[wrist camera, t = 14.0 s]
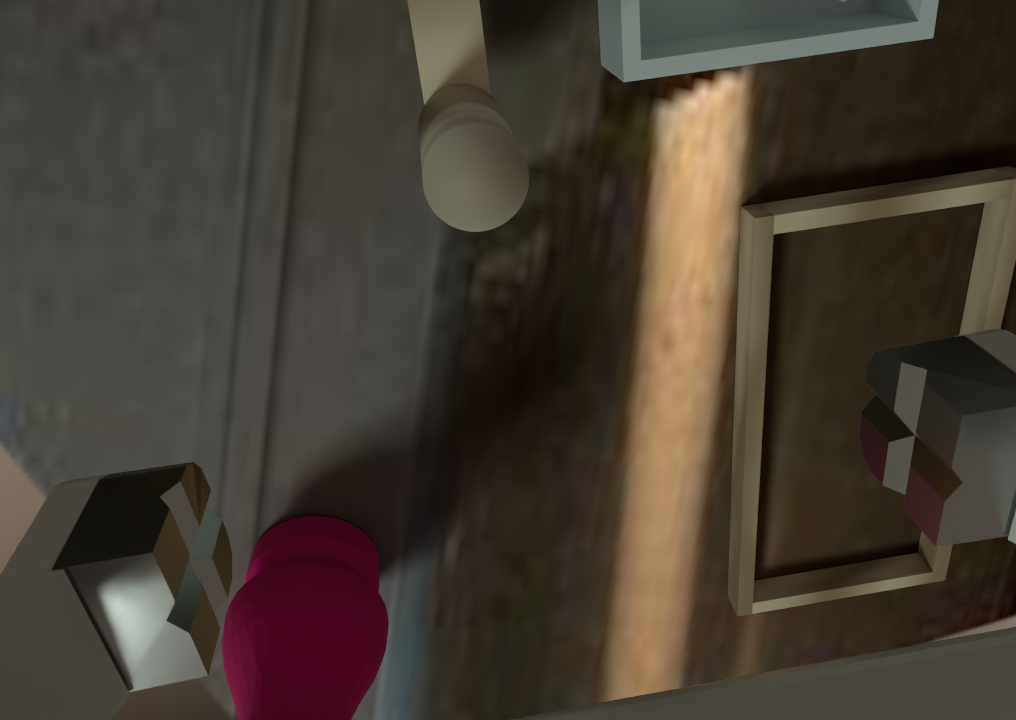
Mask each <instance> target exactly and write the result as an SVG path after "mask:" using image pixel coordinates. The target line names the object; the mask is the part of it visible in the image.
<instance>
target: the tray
mask: <svg viewBox="0 0 1016 720" xmlns="http://www.w3.org/2000/svg"><path fill="white" fill-rule="evenodd" d="M938 1H939V0H847V1H846V2H843V1H838V0H598V15H599V34H600V53H601V65H602V66H603V67H605V68H606V69H607V70H609V71H610V72H611V73H612V74H614V75H615V76H616V77H618V78H619V79H620V80H622V81H623V82H629V81H636V80H643V79H650V78H657V77H664V76H671V75H678V74H685V73H692V72H699V71H706V70H713V69H720V68H727V67H734V66H741V65H748V64H755V63H762V62H769V61H776V60H783V59H790V58H797V57H804V56H811V55H818V54H825V53H832V52H839V51H846V50H853V49H860V48H867V47H874V46H881V45H888V44H895V43H902V42H909V41H916V40H923V39H930V38H933V35H934V29H935V22H936V15H937V8H938Z"/></svg>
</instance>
